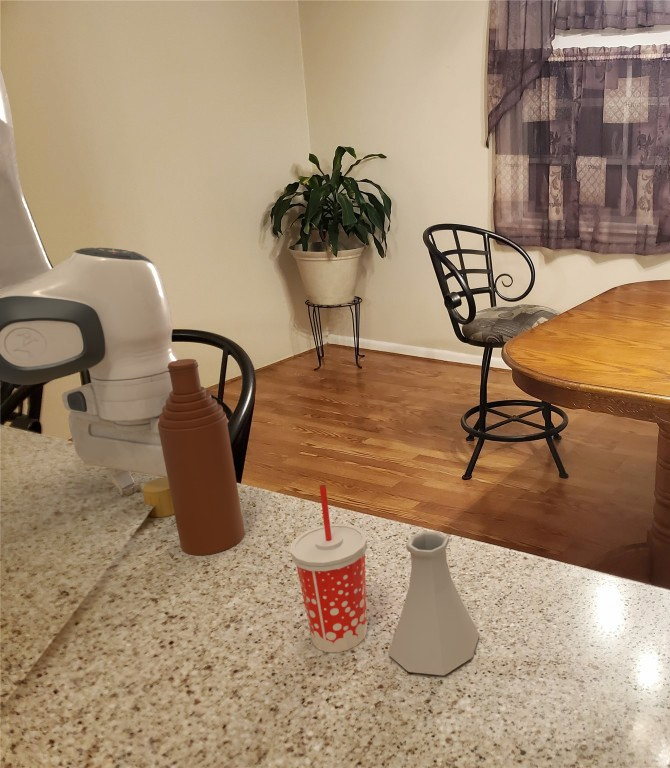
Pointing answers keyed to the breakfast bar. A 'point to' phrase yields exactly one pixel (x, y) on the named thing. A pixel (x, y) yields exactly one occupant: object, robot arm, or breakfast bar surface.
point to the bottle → (199, 465)
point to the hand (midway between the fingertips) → (162, 504)
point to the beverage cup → (333, 582)
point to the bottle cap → (158, 497)
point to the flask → (432, 613)
